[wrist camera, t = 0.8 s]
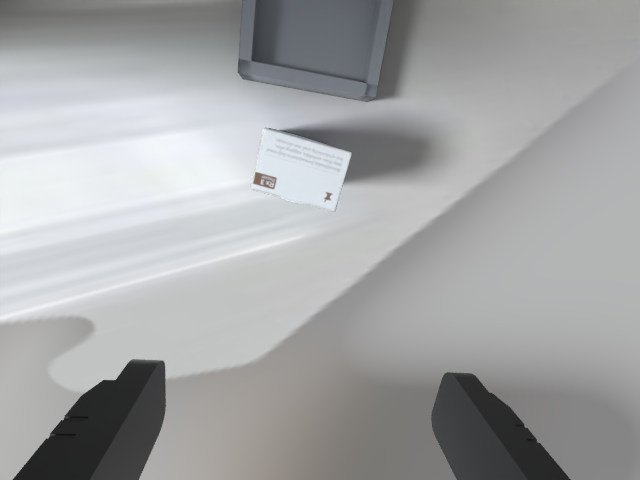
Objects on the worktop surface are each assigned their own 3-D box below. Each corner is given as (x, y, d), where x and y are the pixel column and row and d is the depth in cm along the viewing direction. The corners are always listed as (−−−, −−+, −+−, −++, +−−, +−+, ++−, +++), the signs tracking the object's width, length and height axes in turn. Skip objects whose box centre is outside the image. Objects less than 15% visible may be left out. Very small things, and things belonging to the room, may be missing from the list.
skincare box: (333, 146, 31) (359, 148, 20) (321, 189, 32) (339, 214, 21) (273, 128, 30) (264, 119, 19) (263, 173, 31) (248, 191, 20)
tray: (242, 79, 29) (237, 72, 26) (253, -67, 25) (248, -94, 23) (367, 101, 30) (375, 97, 27) (391, -33, 27) (403, -54, 24)
